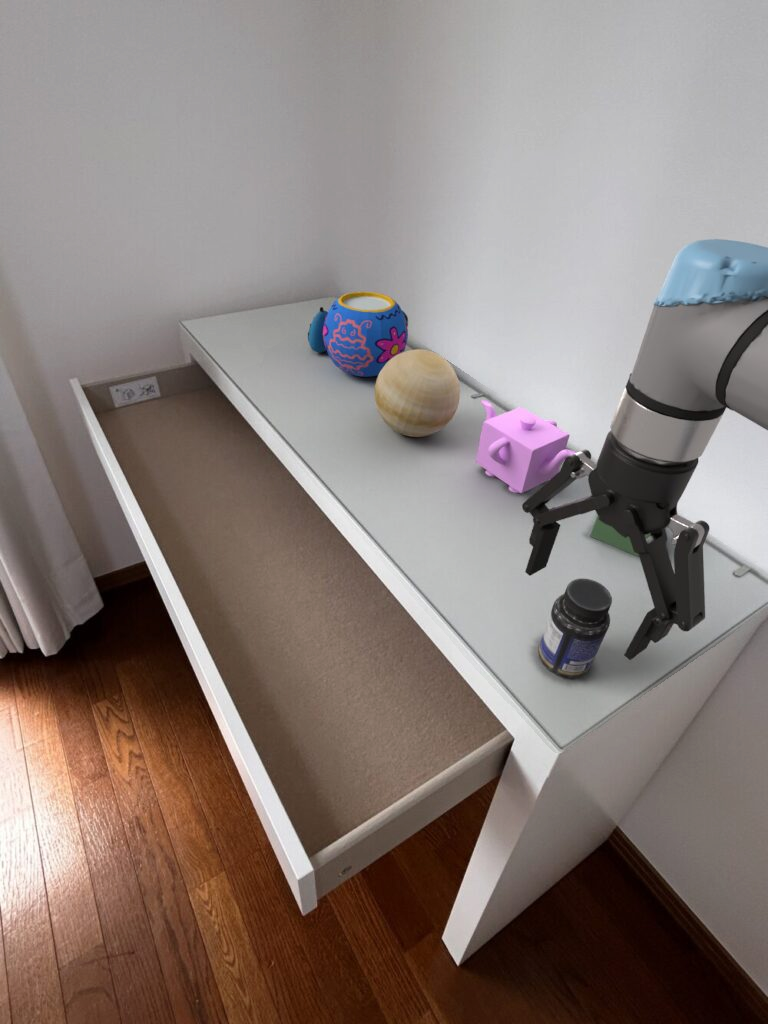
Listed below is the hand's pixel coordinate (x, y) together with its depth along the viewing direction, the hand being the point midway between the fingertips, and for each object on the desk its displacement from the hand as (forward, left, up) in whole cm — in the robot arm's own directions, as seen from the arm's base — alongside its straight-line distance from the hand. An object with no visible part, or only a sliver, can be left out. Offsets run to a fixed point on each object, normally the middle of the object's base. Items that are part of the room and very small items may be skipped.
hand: (581, 608), depth 62 cm
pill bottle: (0, 0, -9) cm, 9 cm away
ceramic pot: (+74, -22, -9) cm, 78 cm away
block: (+10, -26, -9) cm, 29 cm away
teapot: (+29, -22, -9) cm, 38 cm away
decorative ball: (+49, -16, -9) cm, 53 cm away
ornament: (+87, -19, -9) cm, 90 cm away
